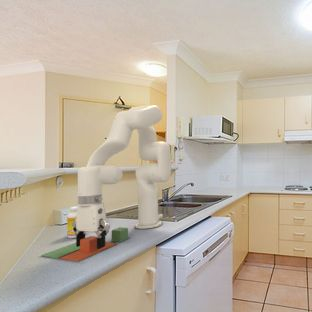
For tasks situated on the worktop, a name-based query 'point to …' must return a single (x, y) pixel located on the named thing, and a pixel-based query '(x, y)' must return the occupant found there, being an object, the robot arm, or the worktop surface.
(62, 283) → the worktop surface
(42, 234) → the worktop surface
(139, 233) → the worktop surface
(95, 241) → the terracotta block
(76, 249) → the sorting mat
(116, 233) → the sage block
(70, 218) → the supplement bottle
